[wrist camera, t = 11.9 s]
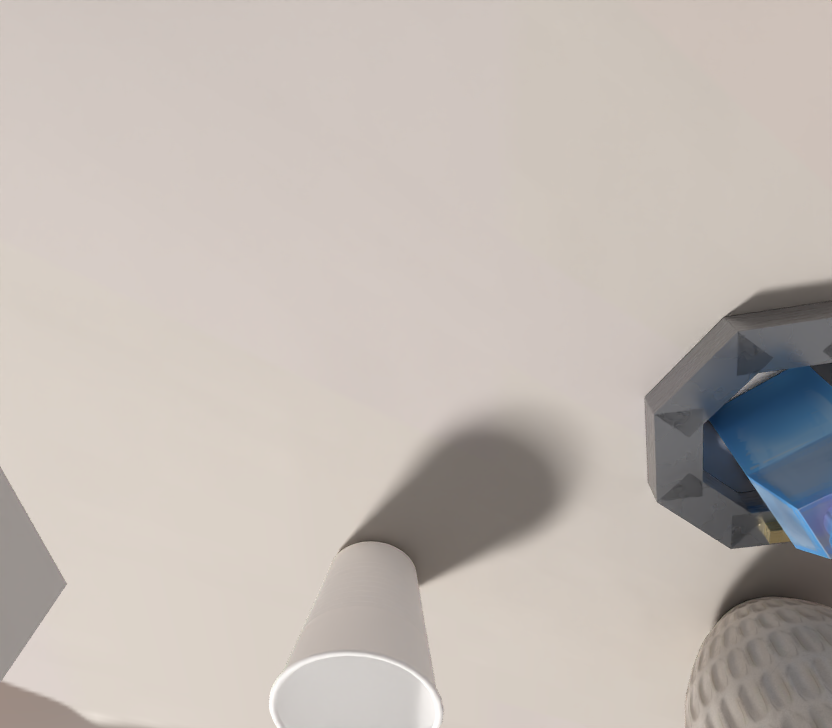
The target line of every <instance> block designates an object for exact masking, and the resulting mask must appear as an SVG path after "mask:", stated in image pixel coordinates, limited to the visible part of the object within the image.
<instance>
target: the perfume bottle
mask: <svg viewBox="0 0 832 728" xmlns="http://www.w3.org/2000/svg"><path fill="white" fill-rule="evenodd" d="M709 421H710V422H711V424H712V425H713V427H714V428H715V430H716V431H717V433H718V434H719V436H720V437H721V439H722V440H723V442H724V443H725V444H726V446H727V447H728V449H729V450H730V452H731V453H732V455H733V456H734V458H735V459H736V461H737V462H738V464H739V465H740V467H741V468H742V470H743V471H744V473H745V474H746V476H747V477H748V478H749V480H750V481H751V483H752V484H753V486H754V487H755V489H756V490H757V492H758V493H759V495H760V496H761V498H762V499H763V501H764V502H765V503H766V505H767V506H768V508H769V509H770V511H771V512H772V514H773V515H774V517H775V518H776V520H777V521H778V523H779V524H780V526H781V527H782V528H783V530H784V531H785V533H786V534H787V536H788V537H789V539H790V540H791V542H792V543H793V545H794V546H795V548H797V549H800V550H803V551H806V552H809V553H813V554H816V555H819V556H822V557H825V558H829V559H832V386H831V385H829V384H828V383H827V382H826V381H825V380H824V379H823V378H822V377H821V376H820V375H819V374H817V373H816V372H815V371H814V370H813V369H812V368H811V367H810V366H804V367H797V368H790V369H787V370H785V371H783V372H782V373H780V374H778V375H776V376H774V377H773V378H771V379H769V380H767V381H765V382H764V383H762V384H760V385H758V386H756V387H755V388H753V389H751V390H749V391H747V392H746V393H744V394H742V395H740V396H738V397H737V398H735V399H733V400H731V401H729V402H728V403H726V404H724V405H723V406H722V407H721V408H720V409H719V410H718V411H717V412H716V413H715V414H714V415H713V416H712V417H711V418H709Z"/></svg>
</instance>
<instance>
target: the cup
mask: <svg viewBox="0 0 832 728" xmlns="http://www.w3.org/2000/svg"><path fill="white" fill-rule="evenodd" d="M269 706H270V713H271V715H272V718H273V721H274V723H275V724H276V726H277V727H278V728H440V726H441V724H442V720H443V712H444V709H443V704H442V698H441V696H440V694H439V692H438V690H437V688H436V684H435V678H434V673H433V667H432V661H431V655H430V650H429V644H428V638H427V632H426V627H425V621H424V615H423V609H422V603H421V597H420V591H419V585H418V579H417V573H416V568H415V566H414V564H413V562H412V561H411V559H410V558H409V557H408V556H407V555H406V554H405V553H404V552H403V551H401V550H400V549H398V548H396V547H394V546H392V545H389V544H386V543H382V542H374V541H367V542H359V543H355V544H352V545H350V546H348V547H346V548H344V549H343V550H341V551H340V552H339V553H338V554H337V555H336V556H335V558H334V559H333V561H332V563H331V565H330V567H329V570H328V572H327V574H326V576H325V578H324V581H323V584H322V586H321V588H320V590H319V592H318V595H317V597H316V600H315V601H314V604H313V606H312V608H311V611H310V612H309V615H308V617H307V619H306V622H305V624H304V626H303V629H302V630H301V633H300V635H299V637H298V639H297V641H296V643H295V645H294V648H293V650H292V652H291V654H290V656H289V659H288V661H287V663H286V665H285V668H284V670H283V671H282V672H281V673H280V674H279V676H278V677H277V679H276V680H275V682H274V684H273V686H272V688H271V692H270V696H269Z"/></svg>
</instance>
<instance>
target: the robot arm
mask: <svg viewBox="0 0 832 728" xmlns="http://www.w3.org/2000/svg"><path fill="white" fill-rule="evenodd" d="M66 585H67V583H66V581H65V580H64V578H63V576H62V574H61V573H60V571H59V569H58V567H57V566H56V564H55V562H54V560H53V559H52V557H51V555H50V553H49V551H48V550H47V548H46V546H45V544H44V543H43V541H42V539H41V537H40V536H39V534H38V532H37V530H36V529H35V527H34V525H33V523H32V522H31V520H30V518H29V516H28V515H27V513H26V511H25V509H24V507H23V506H22V504H21V502H20V500H19V499H18V497H17V495H16V493H15V492H14V490H13V488H12V486H11V485H10V483H9V481H8V479H7V478H6V476H5V474H4V472H3V471H2V469H1V467H0V682H1V681H2V679H3V678H4V676H5V675H6V673H7V672H8V670H9V669H10V667H11V666H12V664H13V663H14V661H15V660H16V658H17V657H18V656H19V654H20V653H21V651H22V650H23V648H24V647H25V645H26V644H27V642H28V641H29V639H30V638H31V636H32V635H33V633H34V632H35V630H36V629H37V627H38V626H39V625H40V623H41V622H42V620H43V619H44V617H45V616H46V614H47V613H48V611H49V610H50V608H51V607H52V605H53V604H54V602H55V601H56V599H57V598H58V596H59V595H60V594H61V592H62V591H63V589H64V588H65V586H66Z"/></svg>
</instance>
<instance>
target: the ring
mask: <svg viewBox="0 0 832 728" xmlns="http://www.w3.org/2000/svg"><path fill="white" fill-rule="evenodd" d="M825 363H832V301H828V302H821V303H815V304H808V305H801V306H795V307H788V308H782V309H775V310H768V311H762V312H755V313H748V314H742V315H735V316H729V317H724V318H723V319H722V320H721V321H720V322H719V323H718V324H717V325H716V326H715V327H714V328H713V329H712V330H711V331H710V332H709V333H708V334H707V335H706V336H705V337H704V338H703V339H702V340H701V341H700V342H699V343H698V344H697V345H696V346H695V347H694V348H693V349H692V350H691V351H690V352H689V353H688V354H687V355H686V356H685V357H684V358H683V359H682V360H681V361H680V362H679V363H678V364H677V365H676V366H675V367H674V368H673V369H672V370H671V371H670V372H669V373H668V374H667V375H666V376H665V377H664V378H663V379H662V380H661V381H660V382H659V383H658V384H657V385H656V386H655V387H654V388H653V389H652V390H651V391H650V392H649V393H648V394H647V395H646V396H645V419H646V446H647V472H648V484H649V486H650V488H651V490H652V492H653V495H654V497H655V499H656V501H657V502H658V503H659V504H661V505H662V506H664V507H665V508H667V509H669V510H670V511H672V512H673V513H675V514H676V515H678V516H680V517H681V518H683V519H684V520H686V521H688V522H689V523H691V524H692V525H694V526H695V527H697V528H699V529H700V530H702V531H703V532H705V533H707V534H708V535H710V536H711V537H713V538H714V539H716V540H718V541H719V542H721V543H722V544H724V545H725V546H727V547H729V548H730V549H734V548H743V547H752V546H761V545H770V544H779V543H788V542H791V540H790V539H789V537H788V536H787V534H786V533H785V531H784V530H783V528H782V527H781V526H780V524H779V523H778V521H777V520H776V518H775V517H774V515H773V514H772V512H771V511H770V509H769V508H768V506H767V505H766V503H765V502H764V501H763V499H762V498H761V496H760V495H759V493H758V492H757V491H752V492H744V493H737V492H736V491H734V490H732V489H731V488H729V487H728V486H726V485H725V484H723V483H722V482H720V481H719V480H717V479H716V478H714V477H713V476H711V475H710V474H708V473H707V472H705V471H704V470H703V424H704V423H705V422H706V421H707V420H708V419H709V418H711V417H712V416H713V415H714V414H715V413H716V412H717V411H718V410H719V409H720V408H721V407H722V406H723V405H724V404H725V403H726V402H728V401H729V400H730V399H731V398H732V397H733V396H734V395H735V394H736V393H737V392H738V391H739V390H740V389H741V388H742V387H743V386H745V385H746V384H747V383H748V382H749V381H750V380H751V379H752V378H753V377H754V376H755V375H756V374H757V373H762V372H769V371H776V370H783V369H790V368H797V367H804V366H811V365H818V364H825Z"/></svg>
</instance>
